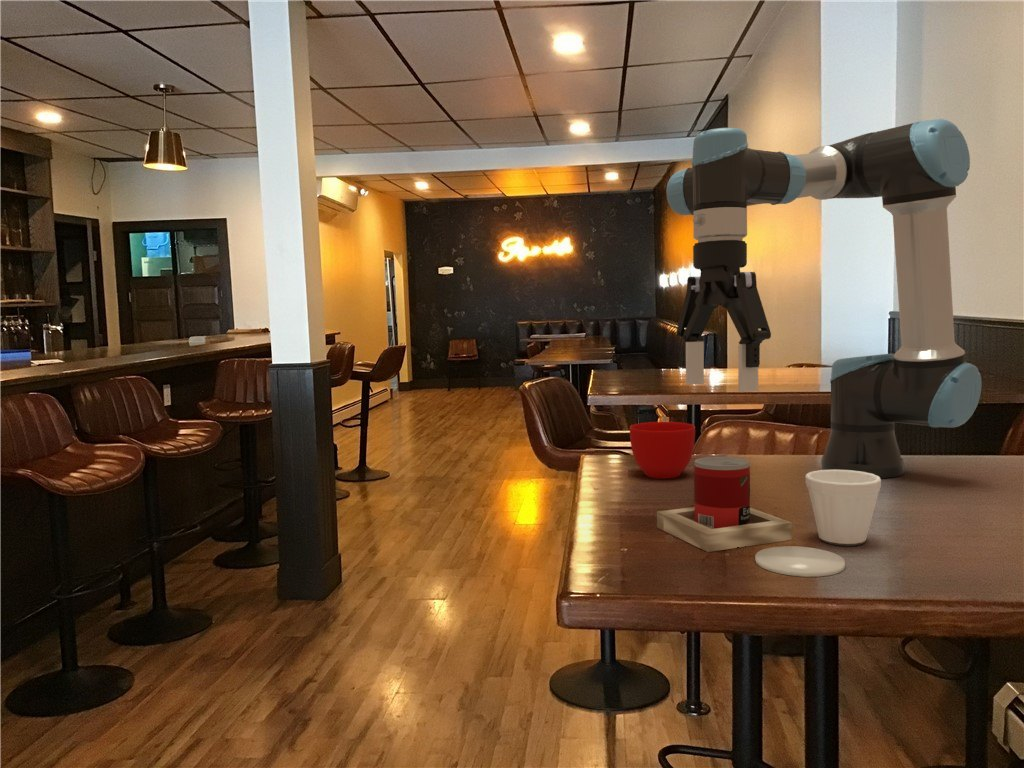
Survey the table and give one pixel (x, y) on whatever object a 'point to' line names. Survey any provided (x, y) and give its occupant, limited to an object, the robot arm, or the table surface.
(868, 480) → the cup
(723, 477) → the canned food
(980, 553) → the table surface
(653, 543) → the table surface
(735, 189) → the robot arm
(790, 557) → the coaster
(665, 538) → the table surface
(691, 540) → the holder
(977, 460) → the table surface
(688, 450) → the ceramic cup
